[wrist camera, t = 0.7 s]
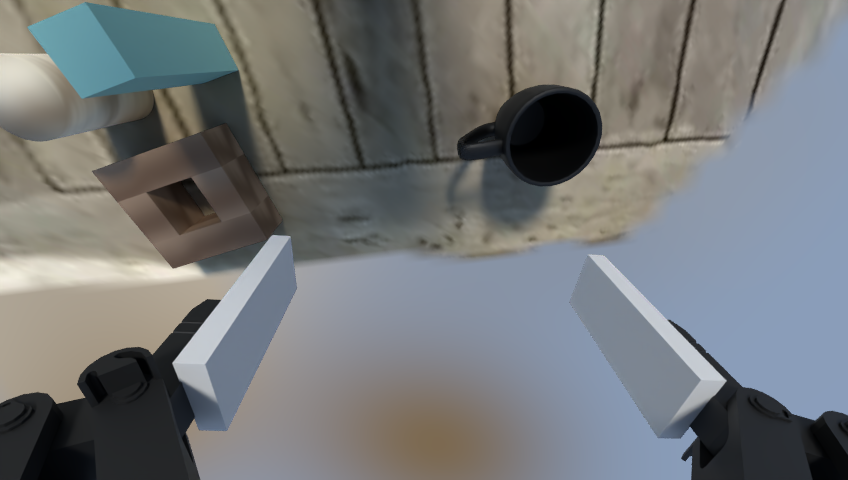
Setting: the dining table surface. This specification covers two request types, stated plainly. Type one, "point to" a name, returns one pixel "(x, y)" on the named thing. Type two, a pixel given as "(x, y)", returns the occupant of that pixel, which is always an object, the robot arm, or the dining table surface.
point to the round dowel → (57, 101)
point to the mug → (540, 134)
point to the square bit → (131, 50)
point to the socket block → (176, 210)
